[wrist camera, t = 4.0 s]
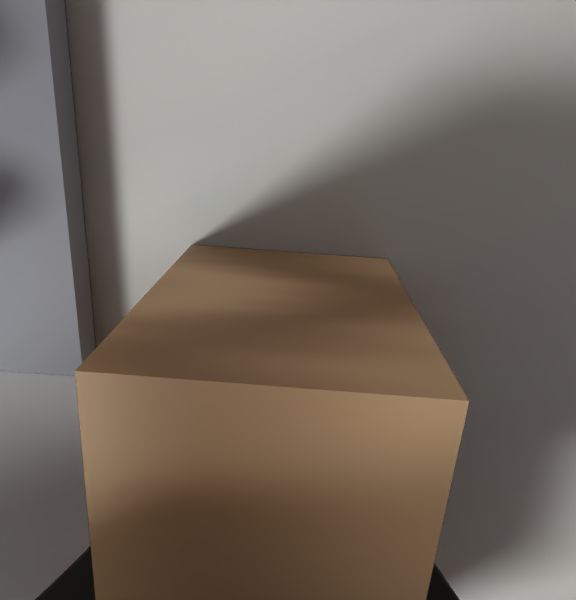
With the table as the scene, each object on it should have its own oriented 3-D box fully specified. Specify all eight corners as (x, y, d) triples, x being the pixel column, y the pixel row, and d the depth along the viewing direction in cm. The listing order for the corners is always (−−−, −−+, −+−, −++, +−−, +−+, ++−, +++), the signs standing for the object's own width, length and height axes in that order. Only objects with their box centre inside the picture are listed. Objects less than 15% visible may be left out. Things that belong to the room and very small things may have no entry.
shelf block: (387, 258, 11) (469, 400, 6) (335, 637, 15) (351, 941, 10) (191, 244, 11) (74, 371, 6) (192, 626, 15) (124, 920, 10)
